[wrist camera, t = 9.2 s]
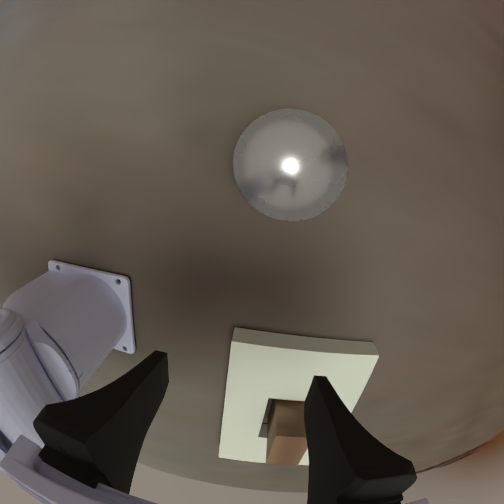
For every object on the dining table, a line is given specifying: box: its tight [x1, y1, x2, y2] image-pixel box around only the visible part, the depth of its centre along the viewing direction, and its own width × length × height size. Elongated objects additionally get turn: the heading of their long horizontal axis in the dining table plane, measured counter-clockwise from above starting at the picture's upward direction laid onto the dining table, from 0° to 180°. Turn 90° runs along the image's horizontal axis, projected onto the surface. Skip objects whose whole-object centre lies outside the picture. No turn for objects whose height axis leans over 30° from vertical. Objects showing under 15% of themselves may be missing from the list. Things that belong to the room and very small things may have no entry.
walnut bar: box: [266, 399, 308, 465], centre depth 22 cm, size 3×5×6 cm, turn 173°
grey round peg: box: [233, 108, 348, 221], centre depth 16 cm, size 6×6×6 cm
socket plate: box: [219, 327, 379, 465], centre depth 24 cm, size 12×18×2 cm, turn 173°
